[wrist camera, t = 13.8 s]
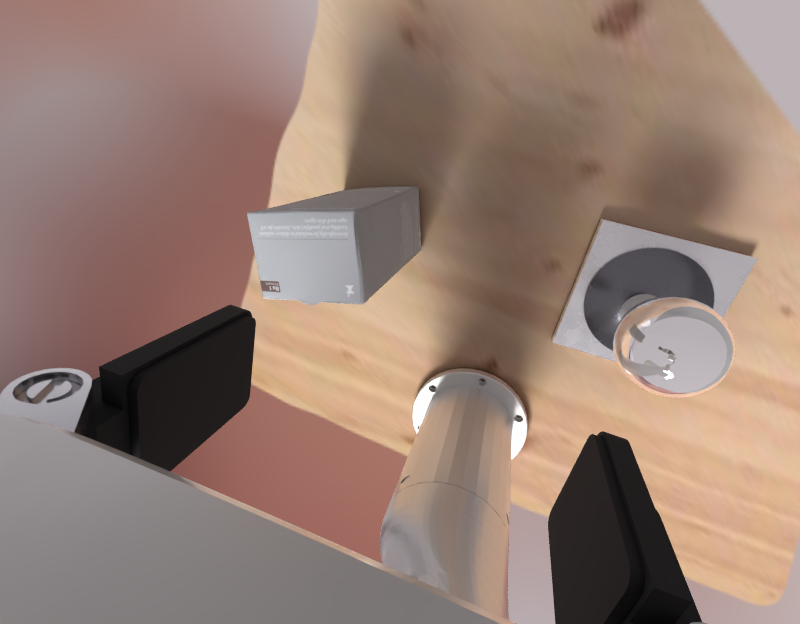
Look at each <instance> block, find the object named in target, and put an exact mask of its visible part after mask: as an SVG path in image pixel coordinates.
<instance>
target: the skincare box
mask: <svg viewBox="0 0 800 624" xmlns="http://www.w3.org/2000/svg"><path fill="white" fill-rule="evenodd" d="M248 220H249V225H250V231H251V236H252V241H253V246H254V251H255V257H256V262H257V268H258V273H259V278H260V284H261V289H262V295H263V298H265V299H279V300H298V301H301V302H302V303H305V304H310V305H314V304H318V303H321V302H327V303H344V304H364V303H365V302H366V301H367V300H368V299H369V298H370V297H371V296H372V295H373V294H374V293H375V292H377V291H378V290H379V289H380V288H381V287H382V286H383V285H384V284H385V283H386V282H387V281H388V280H389V279H390V278H391V277H393V276H394V275H395V274H396V273H397V272H398V271H399V270H400V269H401V268H402V267H403V266H404V265H405V264H406V263H408V262H409V261H410V260H411V259H412V258H413V257H414V256H415V255H416V254H417V253H418V252H419V251H421V231H420V206H419V188H418V186H395V187H370V188H358V189H348V190H343V191H338V192H335V193H331V194H326V195H322V196H319V197H314V198H310V199H306V200H302V201H298V202H294V203H290V204H286V205H282V206H277V207H273V208H269V209H264V210H259V211H255V212H248Z"/></svg>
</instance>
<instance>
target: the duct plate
mask: <svg viewBox="0 0 800 624" xmlns="http://www.w3.org/2000/svg"><path fill="white" fill-rule="evenodd" d="M757 259H758V258H755V257H753V256H749V255H745V254H741V253H737V252H733V251H729V250H725V249H721V248H717V247H713V246H709V245H705V244H701V243H697V242H693V241H689V240H685V239H682V238H678V237H674V236H670V235H666V234H662V233H658V232H654V231H650V230H646V229H642V228H638V227H634V226H630V225H626V224H622V223H618V222H614V221H610V220H606V219H602V218H601V220H600V222H599V225H598V227H597V230H596V232H595V235H594V237H593V239H592V242H591V244H590V247H589V249H588V252H587V254H586V256H585V259H584V261H583V264H582V266H581V269H580V271H579V273H578V276H577V278H576V281H575V283H574V286H573V288H572V290H571V293H570V295H569V298H568V300H567V303H566V305H565V307H564V310H563V312H562V315H561V317H560V320H559V322H558V324H557V327H556V329H555V332H554V334H553V337H552V342H553V343H556V344H560V345H563V346H566V347H569V348H573V349H576V350H579V351H582V352H586V353H589V354H592V355H595V356H598V357H602V358H605V359H608V360H611V361H615V362H617V361H616V358H615V355H614V351H613V338H614V333H615V330H616V328H617V325H618V323H619V321H620V320H621V317H620V311H621V308H622V306H623V304H624V303H625V302H626V301H627V300H628V299H630V298H631V297H633V296H636V295H639V294H650V295H653V296H656V297H660V296H682V297H687V298H691V299H694V300H697V301H699V302H701V303H704V304H706V305H708V306H709V307H711V308H712V309H713V310H715V311H716V312H717V313H718V314H719V315H720V316H721V317H722V318H723V317H724V315H725V313H726V312H727V310H728V308H729V307H730V305H731V303H732V302H733V300H734V298H735V296H736V295H737V293H738V291H739V290H740V288H741V286H742V285H743V283H744V281H745V279H746V278H747V276H748V274H749V273H750V271H751V269H752V268H753V266H754V264H755V262H756V261H757Z"/></svg>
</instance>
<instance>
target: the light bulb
mask: <svg viewBox="0 0 800 624" xmlns="http://www.w3.org/2000/svg"><path fill="white" fill-rule="evenodd" d="M620 317H621V320H620V321H619V323H618V325H617V328H616V330H615V333H614V338H613V351H614V355H615V358H616V361H617V363H618V365H619V367H620V368H621V370H622V371H623V373H624V374H625V375H626V376H627V377H628V378H629V379H630V380H631V381H632V382H633V383H635V384H636V385H637V386H639V387H640V388H642V389H644V390H646V391H648V392H650V393H653V394H657V395H660V396H666V397H674V398H679V397H690V396H695V395H698V394H701V393H704V392H706V391H708V390H710V389H712V388H713V387H715V386H716V385H717V384H719V383H720V382H721V381H722V380H723V379H724V378H725V377H726V375H727V374H728V372H729V370H730V369H731V367H732V364H733V360H734V357H735V343H734V338H733V335H732V331H731V330H730V328H729V326H728V324H727V323H726V322H725V320H724V319H723V318H722V317H721V316H720V315H719V314H718V313H717V312H716V311H715V310H713V309H712V308H711V307H709V306H708V305H706V304H704V303H701V302H699V301H697V300H694V299H691V298H687V297H682V296H660V297H656V296H653V295H650V294H639V295H636V296H633V297H631V298H630V299H628V300H627V301H626V302H625V303H624V304H623V306H622V308H621V311H620Z"/></svg>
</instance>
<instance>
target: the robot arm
mask: <svg viewBox="0 0 800 624" xmlns="http://www.w3.org/2000/svg"><path fill="white" fill-rule="evenodd" d="M255 326H256V321H255V319H254V318H253V317H252V314H251V312H250V311H248V310H245V309H242V308H239V307H236V306H233V305H229V306H226V307H224V308H222V309H220V310H218V311H216V312H213V313H211V314H209V315H207V316H205V317H203V318H201V319H199V320H197V321H194V322H193V323H190V324H188V325H186V326H184V327H182V328H180V329H178V330H176V331H174V332H171V333H169V334H167V335H165V336H163V337H161V338H159V339H157V340H155V341H152V342H150V343H148V344H146V345H144V346H142V347H140V348H138V349H136V350H133V351H131V352H129V353H127V354H125V355H123V356H121V357H119V358H117V359H115V360H112V361H111V362H108V363H106V364H104V365H102V366H100V367H99V370H100V377H98V378H96V379H94V380H92V379H91V377H90V376H89V374H87V373H85V372H83V371H81V370H76V369H72V368H54V369H45V370H41V371H37V372H32V373H30V374H27V375H24V376H22V377H19V378H18V379H16V380H14V381H13V382H11V383H10V384H9V385H8V386H7V387H6V388H5V389H4V390H3V391H2V393H1V394H0V624H515V623H513V622H511V621H509V614H508V553H509V517H510V488H511V460H512V459H513V458H514V457H515V456H516V455H517V454H518V453H519V452H520V450H521V449H522V447H523V445H524V443H525V440H526V437H527V428H528V422H527V414H526V411H525V407H524V405H523V403H522V401H521V399H520V397H519V396H518V395H517V394H516V392H515V391H514V390H513V389H512V388H511V387H510V386H509V385H508V384H507V383H505V382H504V381H503V380H501V379H499V378H498V377H496V376H494V375H492V374H489V373H487V372H484V371H481V370H476V369H468V368H458V369H451V370H447V371H444V372H441V373H439V374H437V375H435V376H434V377H432V378H430V379H429V380H428V381H427V382H426V383H425V384H424V385H423V386H422V388H421V389H420V391H419V392H418V395H417V397H416V399H415V402H414V405H413V413H412V418H413V424H414V428H415V431H416V433H417V435H416V437H415V440H414V442H413V445H412V448H411V450H410V453H409V455H408V458H407V460H406V463H405V466H404V468H403V471H402V473H401V476H400V478H399V481H398V484H397V486H396V489H395V491H394V494H393V496H392V499H391V502H390V504H389V507H388V510H387V512H386V515H385V517H384V520H383V524H382V529H381V536H380V549H381V558H382V564H381V563H379V562H377V561H374V560H372V559H370V558H368V557H366V556H363V555H361V554H359V553H356V552H354V551H352V550H350V549H347V548H345V547H343V546H340V545H338V544H336V543H333V542H331V541H329V540H326V539H325V538H322V537H320V536H318V535H315V534H313V533H311V532H309V531H306V530H304V529H302V528H299V527H297V526H295V525H292V524H290V523H288V522H285V521H283V520H281V519H279V518H276V517H274V516H272V515H270V514H267V513H265V512H263V511H260V510H258V509H256V508H253V507H251V506H249V505H247V504H244V503H242V502H239V501H237V500H235V499H233V498H230V497H228V496H225V495H223V494H221V493H219V492H216V491H214V490H211V489H209V488H207V487H205V486H202V485H200V484H198V483H195V482H193V481H191V480H188V479H186V478H184V477H181V476H179V475H177V474H175V473H172V472H170V471H171V470H172V469H174V468H175V467H176V466H177V465H178V464H179V463H180V462H182V461H183V460H184V459H185V458H186V457H187V456H188V455H190V454H191V453H192V452H193V451H194V450H195V449H197V448H198V447H199V446H200V445H201V444H202V443H203V442H204V441H206V440H207V439H208V438H209V437H210V436H211V435H213V434H214V433H215V432H216V431H217V430H218V429H220V428H221V427H222V426H223V425H224V424H225V423H226V422H227V421H229V420H230V419H231V418H232V417H233V416H234V415H236V414H237V413H238V412H239V411H240V410H241V409H242V408H243V407H244V406H245V405H246V404H247V402H248V400H249V396H250V387H251V375H252V363H253V351H254V339H255ZM481 378H483V379H484V380H482V379H481ZM432 385H434V386H432ZM548 530H549V544H550V557H551V570H552V583H553V596H554V609H555V622H556V624H706V623H703V622H702V621H701V618H700V615H699V613H698V610H697V608H696V605H695V603H694V600H693V598H692V596H691V593H690V591H689V588H688V585H687V583H686V580H685V578H684V575H683V573H682V570H681V568H680V565H679V563H678V560H677V558H676V555H675V553H674V550H673V548H672V545H671V543H670V540H669V538H668V535H667V532H666V530H665V527H664V525H663V522H662V520H661V517H660V515H659V513H658V512H657V510H656V509H655V507H654V505H653V502H652V500H651V497H650V494H649V492H648V489H647V487H646V484H645V482H644V479H643V477H642V474H641V472H640V469H639V466H638V464H637V461H636V459H635V456H634V454H633V451H632V449H631V446H630V443H629V442H628V440H626V439H624V438H621V437H618V436H615V435H612V434H609V433H606V432H603V431H602V432H600V433H599V434H598V435H594V434H591V435H590V436H589V438H588V439H587V441H586V443H585V445H584V447H583V449H582V451H581V453H580V455H579V457H578V459H577V461H576V463H575V465H574V467H573V469H572V471H571V473H570V475H569V477H568V479H567V481H566V482H565V484H564V486H563V488H562V490H561V492H560V494H559V496H558V498H557V500H556V502H555V504H554V506H553V508H552V510H551V512H550V516H549V521H548Z"/></svg>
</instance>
